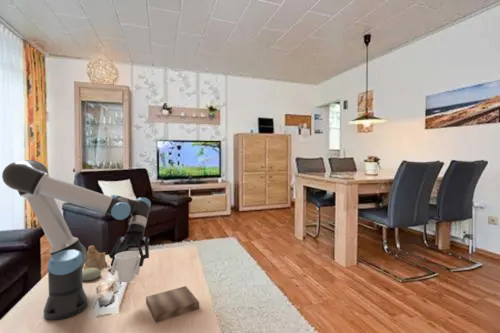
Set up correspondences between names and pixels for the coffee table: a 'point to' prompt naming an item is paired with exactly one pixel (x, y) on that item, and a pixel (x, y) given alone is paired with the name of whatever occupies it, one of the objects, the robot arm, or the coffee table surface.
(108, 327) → the coffee table surface
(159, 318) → the wooden block
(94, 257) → the statue
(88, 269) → the sea urchin shell
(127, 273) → the cup
